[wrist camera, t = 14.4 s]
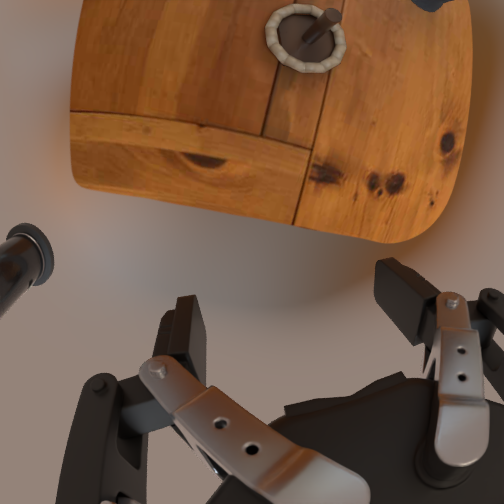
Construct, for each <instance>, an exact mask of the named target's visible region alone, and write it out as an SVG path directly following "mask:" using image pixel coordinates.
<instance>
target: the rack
mask: <svg viewBox="0 0 504 504" xmlns="http://www.w3.org/2000/svg"><path fill="white" fill-rule="evenodd" d="M341 20H342V15H341V13H340V12H339V11H338V10H336V9H334V8H328V9H326V10H325V11H324V12H323V13H322V14H321V15H320V16H319V17H318V18H317V17H315V16H313V15H293V14H291V15H289V16H287V17H285V18H283V19H282V20H281V22H280V24H279V26H278V28H277V34H278V40H279V44H280V45H281V46H282V47H283V48H284V50H285V51H286V52H287V53H288V54H289V55H290V56H292V57H294V58H296V59H298V60H300V61H303V62H316V63H320V62H321V61H323V60H325V59H327V58H329V57H330V56H331V55H332V52H333V50H334V48H335V46H336V45H335V39H334V34H333V32H332V31H331V28H333V27H334V26H335V25H336V24H337V23H339V22H340V21H341ZM338 65H339V64H338ZM283 66H286V65H284V64H283ZM336 66H337V65H336Z"/></svg>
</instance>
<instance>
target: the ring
mask: <svg viewBox="0 0 504 504" xmlns="http://www.w3.org/2000/svg"><path fill="white" fill-rule="evenodd" d="M323 12H324V11H323V10H321V9H319V8H317V7H315V6H313V5H306V4H289V5H287V6H285V7H283V8H281V9H279V10H276V11H274V12H273V13H272V15H271V17H270V19H269V21H268V22H267V24H266V26H265V34H266V40H267V46H268V48H269V49H270V50H271V51H272V53H273V54H274V55H275V56H276V57H277V59H278V60H279V61H280V62H281V63H282V64H284V65H286V66H289V67H291V68H293V69H295V70H297V71H299V72H301V73H324V72H326V71H328V70H329V69H331V68H333V67H335V66H336V65H338V64H340V62H341V60H342V58H343V55H344V53H345V51H346V48H347V46H346V41H345V36H344V31H343V29H342V28H341V26H340V25H339V24H338V23H337V24H336V25H335V26H334V27H333V28H331V31H332V32H333V34H334V39H335V45H336V46H335V48H334V50H333V52H332V55H331V56H330V57H329V58H327V59H325V60H323V61H321V62H320V63H316V62H303V61H300V60H298V59H296V58H294V57H292V56H290V55H289V54H288V53H287V52H286V51H285V50H284V48H283V47H282V46H281V45H280V44H279V41H278V35H277V28H278V26H279V24H280V22H281V20H282V19H283V18H285V17H287V16H289V15H291V14H294V13H303V14H311V15H313V16H315V17H317V18H318V17H319V16H320V15H321V14H322V13H323Z"/></svg>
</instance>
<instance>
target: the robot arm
mask: <svg viewBox="0 0 504 504" xmlns="http://www.w3.org/2000/svg"><path fill="white" fill-rule="evenodd" d="M44 271H45V256H44V252H43V250H42V248H41V246H40V244H39V243H38V241H37V240H36V239H35V238H34V237H33V236H32V235H30V234H28V233H25V232H19V233H17V234H15V235H13V236H12V237H11V238H10V239H8V240H7V241H5V242H4V243H2V244H1V245H0V319H1V318H2V317H3V316H4V314H5V313H6V312H7V311H8V310H9V309H10V308H11V307H12V306H13V304H14V303H15V302H16V301H17V300H18V299H19V298H20V297H21V296H22V295H23V294H24V293H25V292H26V291H27V289H28V290H29V289H30V287H31V286H32V285H33V283H34V282H35V281H36V280H38V279H39V278H40V277H41V276H42V275H43V273H44ZM374 297H375V300H376V302H377V304H378V305H379V306H380V307H381V308H382V309H383V311H384V312H385V313H386V314H387V315H388V316H389V318H390V319H392V321H393V322H394V324H395V325H396V326H397V327H398V328H399V330H400V331H401V332H402V333H403V334H404V336H405V337H406V338H407V339H408V340H409V342H410V343H411V344H412V345H413V346H415V345H418V344H420V343H424V344H425V346H424V349H423V356H422V365H421V373H420V378H406V377H405V376H404V374H403V373H402V371H400V372H398V373H395V374H393V375H390V376H387V377H384V378H382V379H379V380H377V381H374V382H373V383H371V384H370V385H368V386H366V387H365V388H363V389H362V390H360V391H358V392H356V393H355V394H353V395H351V396H346V397H334V398H318V399H312V400H309V401H304V402H300V403H296V404H291V405H286V406H284V411H285V415H284V416H282V417H279V418H278V419H276V420H274V421H272V422H271V423H269V424H268V425H266V424H265V423H263V422H262V421H261V420H259V419H258V418H256V417H255V416H254V415H252V414H251V413H249V412H248V411H247V410H245V409H244V408H243V407H241V406H240V405H239V404H237V403H236V402H235V401H234V400H232V399H231V398H229V397H228V396H227V395H226V394H225V393H223V392H222V391H220V390H219V389H218V388H217V387H215V386H210V387H209V388H207V387H206V330H205V325H204V322H203V318H202V315H201V311H200V308H199V304H198V300H197V297H196V295H189V296H183V297H178V298H177V303H176V308H175V310H169V311H167V312H166V313H165V315H164V316H163V317H162V318H161V322H160V326H159V330H158V335H157V338H156V342H155V346H154V351H153V355H152V358H150V359H148V360H147V361H146V362H144V363H143V364H142V366H141V367H140V370H139V374H138V375H136V376H133V377H130V378H127V379H124V380H121V381H117V379H116V378H115V376H113V375H112V374H109V373H100V374H97V375H94V376H93V377H91V378H90V379H89V380H87V382H86V383H85V385H84V386H83V389H82V392H81V395H80V399H79V402H78V405H77V408H76V412H75V415H74V419H73V423H72V426H71V430H70V434H69V438H68V442H67V446H66V450H65V454H64V459H63V464H62V469H61V474H60V479H59V485H58V491H57V497H56V503H55V504H146V482H147V451H148V449H147V447H148V433H149V432H151V431H155V430H158V429H161V428H164V427H167V426H170V427H171V428H172V429H173V431H174V432H175V433H176V434H177V435H178V436H179V437H180V439H181V440H182V441H183V442H184V443H185V444H186V445H187V446H188V447H189V448H190V449H191V450H192V451H193V452H194V453H195V454H196V456H198V458H199V459H200V460H201V461H202V462H203V463H204V464H205V466H206V467H207V468H208V469H209V470H210V471H211V472H212V473H213V474H214V475H215V476H216V477H217V478H218V479H220V480H221V481H222V483H221V485H220V486H219V487H218V489H217V490H216V491H215V492H214V494H213V495H212V496H211V498H210V499H209V500H208V501H207V503H206V504H504V405H502V404H500V403H496V402H493V401H490V400H487V399H485V397H484V378H483V374H484V375H485V377H486V378H487V379H488V381H489V382H490V383H491V385H492V386H493V387H494V389H495V390H496V391H497V393H498V394H499V395H500V397H501V398H502V400H503V401H504V351H503V350H502V349H501V348H500V347H499V346H498V345H497V344H496V342H495V341H494V340H493V336H494V334H495V331H496V329H497V328H498V329H499V330H500V331H501V332H502V333H503V335H504V294H503V293H501V292H499V291H498V290H496V289H492V288H485V289H483V290H481V291H480V294H479V298H478V300H476V301H466V300H465V298H464V297H463V296H461V295H460V294H457V293H454V292H443V293H441V292H440V291H439V290H438V289H437V288H435V287H434V286H433V285H432V284H431V283H429V282H428V281H427V280H425V278H423V277H422V276H420V274H418V273H417V272H416V271H415V270H413V269H411V268H409V267H407V266H404V265H402V264H401V263H400V262H398V261H397V260H396V259H394V258H393V257H391V258H386V259H382V260H378V261H377V262H376V266H375V281H374Z"/></svg>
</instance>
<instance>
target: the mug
mask: <svg viewBox="0 0 504 504" xmlns="http://www.w3.org/2000/svg"><path fill="white" fill-rule="evenodd" d="M448 1H453V0H412V2H414V3H415V4H416V5H417V6H418V7H420V8H421V9H423V10H425V11H428V12H435V11H436V10H438V9H439V8H440V7H441V6H442V5H443V3H446V2H448Z"/></svg>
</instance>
